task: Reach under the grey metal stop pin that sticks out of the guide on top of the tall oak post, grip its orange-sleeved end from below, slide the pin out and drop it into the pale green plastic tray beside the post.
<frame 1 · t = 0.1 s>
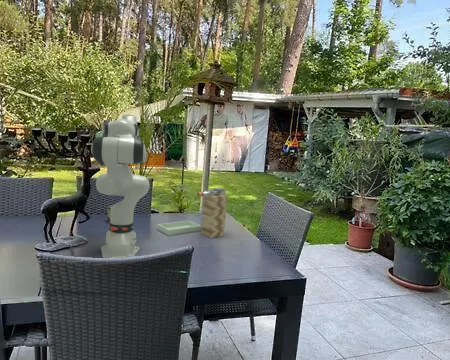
hand: (127, 168, 205), 39 cm above the table, tool pointing down, fingers open, 8 cm apart
food container: (115, 223, 235), on the table
stop pin: (210, 195, 221), point 25 cm above the table, touching pin post
pin post: (212, 234, 227), on the table
pin tray: (179, 230, 230), on the table
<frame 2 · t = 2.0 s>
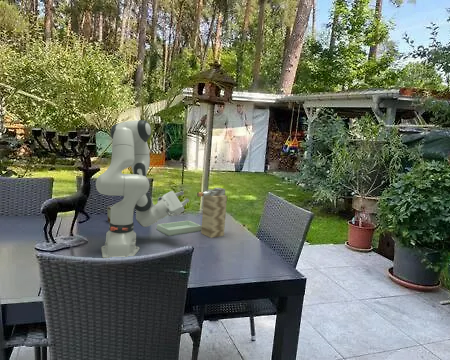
hand: (185, 195, 207), 26 cm above the table, tool pointing upward, fingers open, 8 cm apart
nothing on the table moved.
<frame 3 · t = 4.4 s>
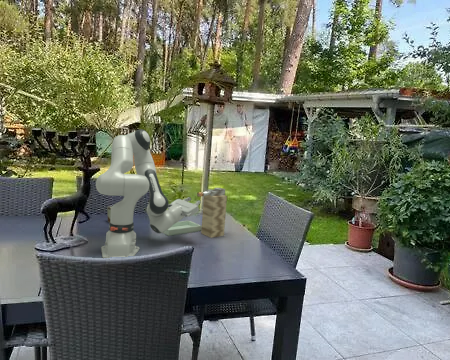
hand: (194, 199, 213), 23 cm above the table, tool pointing upward, fingers open, 8 cm apart
nothing on the table moved.
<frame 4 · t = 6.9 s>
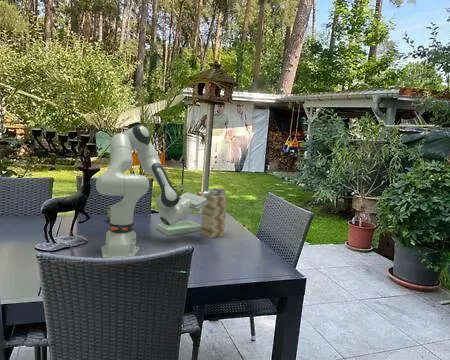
hand: (203, 192, 217), 27 cm above the table, tool pointing upward, fingers closed on stop pin, 2 cm apart
stop pin: (210, 195, 221), point 25 cm above the table, touching gripper, pin post
everything else where it was.
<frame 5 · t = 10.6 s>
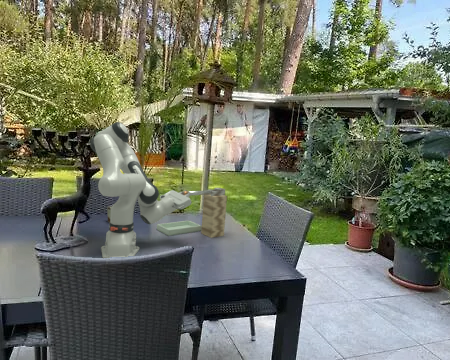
hand: (188, 192, 207), 28 cm above the table, tool pointing upward, fingers closed on stop pin, 2 cm apart
stop pin: (196, 195, 211), point 26 cm above the table, touching gripper
everything else where it was.
when the fingers open (22 cm above the table, at t = 14.3 s): stop pin drops 20 cm, resting on pin tray.
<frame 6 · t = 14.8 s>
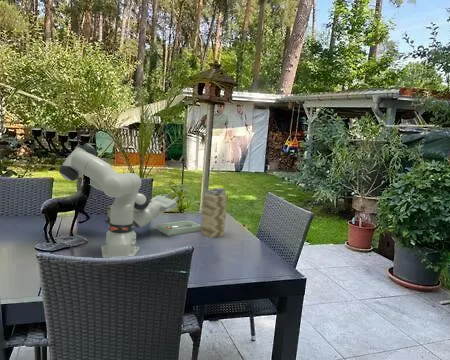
hand: (174, 195, 223), 22 cm above the table, tool pointing upward, fingers open, 7 cm apart
stop pin: (178, 229, 229), point 1 cm above the table, touching pin tray
everything else where it was.
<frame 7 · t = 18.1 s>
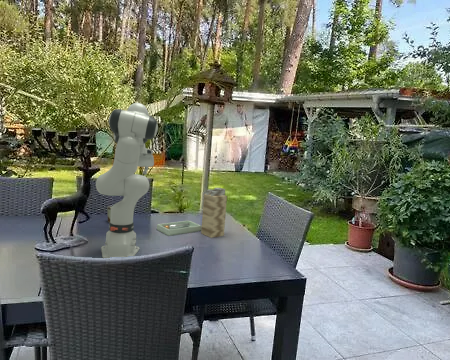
hand: (137, 174, 217), 34 cm above the table, tool pointing down, fingers open, 8 cm apart
stop pin: (177, 225, 230), point 3 cm above the table, tilted 125°, touching pin tray
everything else where it was.
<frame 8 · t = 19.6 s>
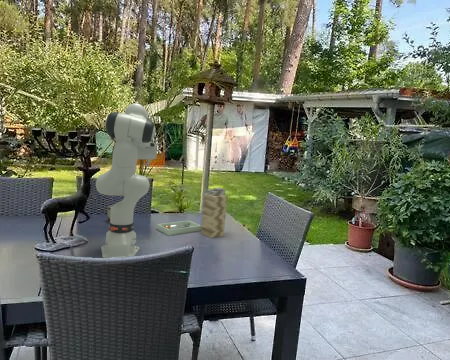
hand: (139, 166, 216), 39 cm above the table, tool pointing down, fingers open, 8 cm apart
stop pin: (178, 226, 230), point 2 cm above the table, tilted 107°, touching pin tray
everything else where it was.
at the end: stop pin 0.9 cm from the pin tray (horizontally); stop pin point 2.2 cm above the table; stop pin touching pin tray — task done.
